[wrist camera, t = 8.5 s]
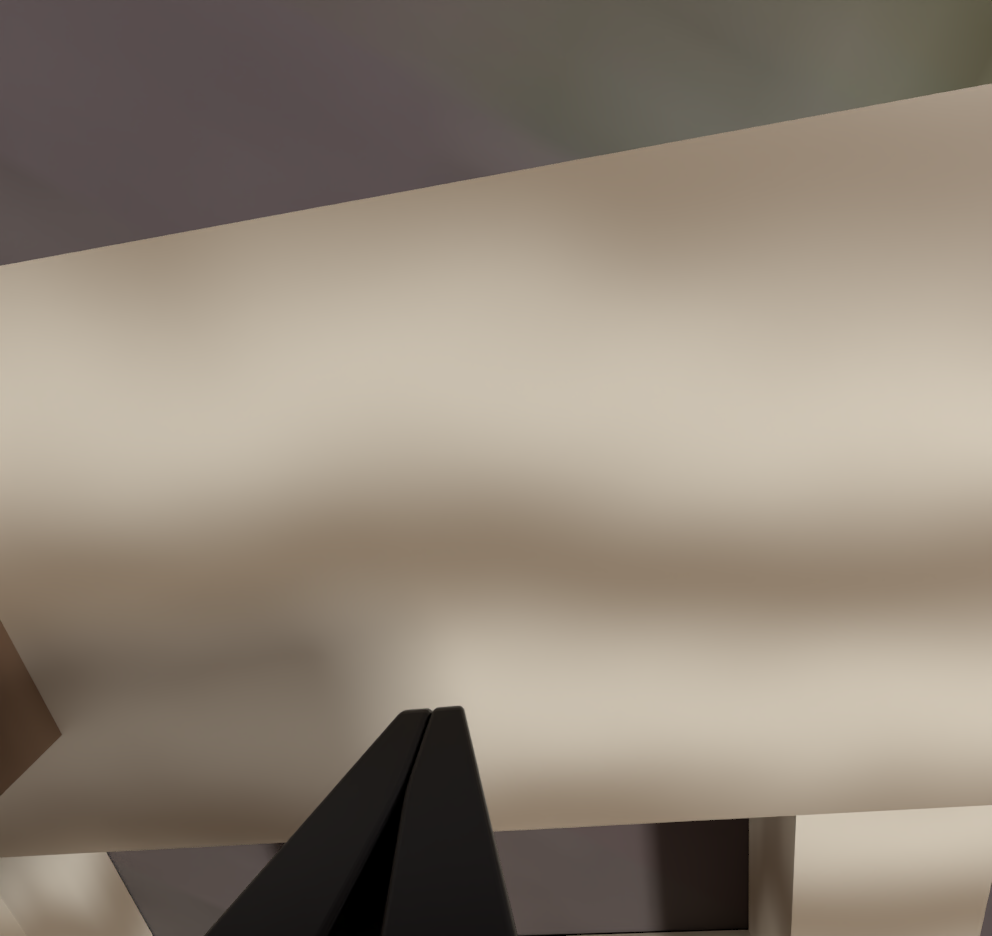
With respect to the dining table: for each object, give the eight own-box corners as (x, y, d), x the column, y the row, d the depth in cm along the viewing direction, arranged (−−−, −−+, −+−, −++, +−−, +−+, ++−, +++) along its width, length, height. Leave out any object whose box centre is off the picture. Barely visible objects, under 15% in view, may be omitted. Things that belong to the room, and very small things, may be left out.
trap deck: (887, 957, 16) (1015, 1202, 12) (44, 979, 19) (-94, 1181, 15) (1003, 109, 9) (1440, -43, 5) (-384, 357, 12) (-896, 404, 8)
